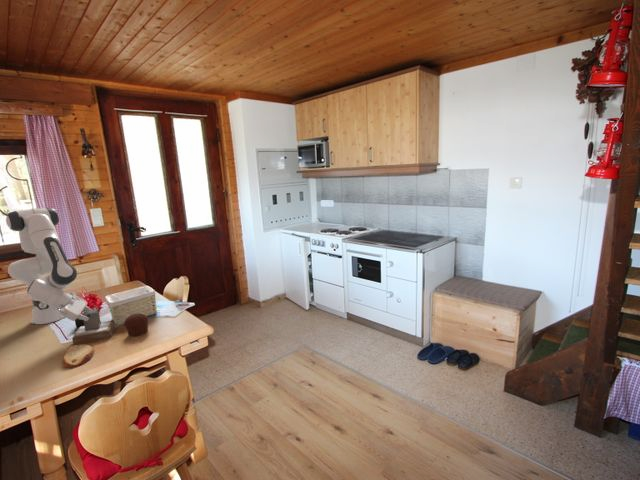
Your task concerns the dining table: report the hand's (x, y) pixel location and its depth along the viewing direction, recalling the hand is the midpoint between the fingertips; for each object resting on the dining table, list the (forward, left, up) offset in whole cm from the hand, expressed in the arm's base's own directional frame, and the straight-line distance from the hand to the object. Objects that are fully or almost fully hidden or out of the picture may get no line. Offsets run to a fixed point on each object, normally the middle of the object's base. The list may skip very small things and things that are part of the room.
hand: (90, 316), depth 174 cm
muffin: (+8, +21, -12) cm, 26 cm away
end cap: (-18, -7, -12) cm, 22 cm away
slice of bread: (+21, -3, -12) cm, 24 cm away
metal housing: (0, 0, -7) cm, 7 cm away
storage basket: (-18, +17, -12) cm, 28 cm away
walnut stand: (0, 0, -11) cm, 11 cm away
